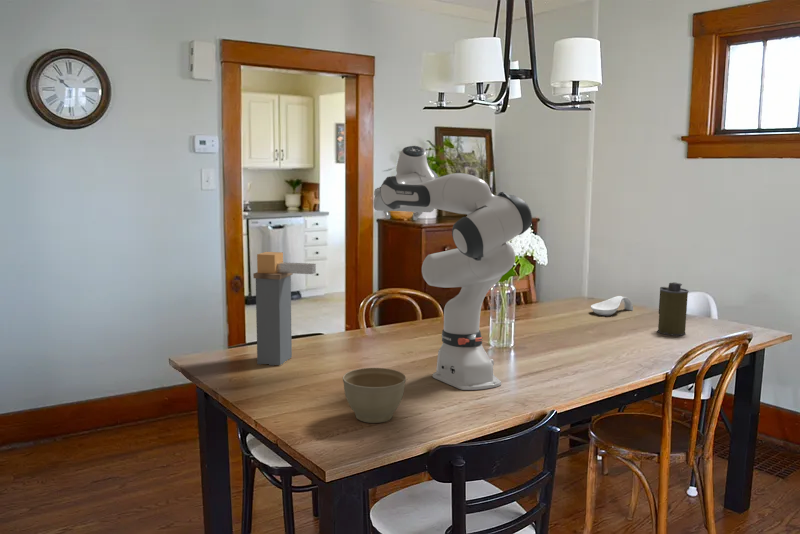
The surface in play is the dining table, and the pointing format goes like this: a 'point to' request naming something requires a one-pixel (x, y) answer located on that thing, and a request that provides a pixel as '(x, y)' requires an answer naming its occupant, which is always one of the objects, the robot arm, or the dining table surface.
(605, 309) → the spoon rest
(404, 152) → the robot arm
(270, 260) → the bar
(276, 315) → the cabinet stand
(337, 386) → the dining table surface
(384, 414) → the planter bowl
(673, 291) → the canister
